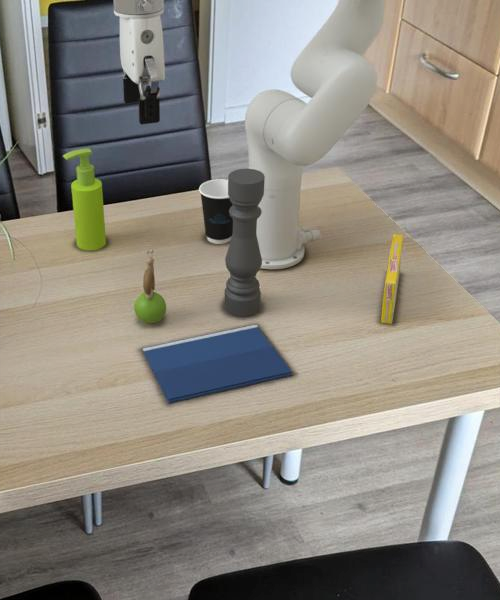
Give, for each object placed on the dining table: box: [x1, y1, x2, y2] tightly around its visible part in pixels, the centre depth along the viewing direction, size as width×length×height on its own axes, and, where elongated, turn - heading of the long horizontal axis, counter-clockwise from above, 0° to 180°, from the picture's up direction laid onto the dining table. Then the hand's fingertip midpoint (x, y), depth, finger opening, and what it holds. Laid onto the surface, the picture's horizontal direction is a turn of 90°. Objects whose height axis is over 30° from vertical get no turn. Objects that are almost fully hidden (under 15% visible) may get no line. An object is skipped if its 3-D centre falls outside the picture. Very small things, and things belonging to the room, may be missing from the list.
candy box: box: [380, 233, 404, 325], centre depth 142 cm, size 16×2×8 cm, turn 161°
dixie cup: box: [198, 178, 233, 245], centre depth 162 cm, size 8×8×11 cm
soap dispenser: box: [62, 147, 107, 252], centre depth 161 cm, size 6×7×20 cm
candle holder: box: [223, 168, 265, 318], centre depth 138 cm, size 6×6×25 cm
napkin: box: [141, 323, 293, 404], centre depth 132 cm, size 20×14×1 cm
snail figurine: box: [133, 249, 167, 324], centre depth 140 cm, size 5×6×12 cm
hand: (141, 112), depth 133 cm, fingers open, 9 cm apart
